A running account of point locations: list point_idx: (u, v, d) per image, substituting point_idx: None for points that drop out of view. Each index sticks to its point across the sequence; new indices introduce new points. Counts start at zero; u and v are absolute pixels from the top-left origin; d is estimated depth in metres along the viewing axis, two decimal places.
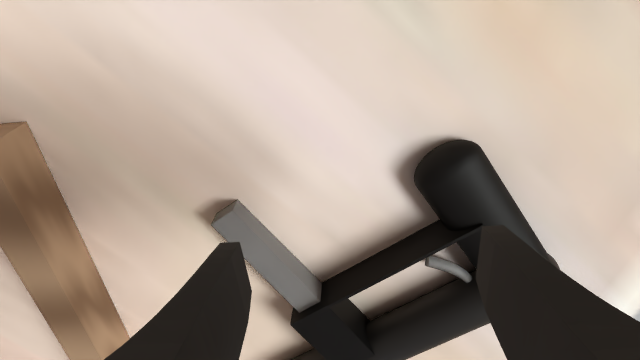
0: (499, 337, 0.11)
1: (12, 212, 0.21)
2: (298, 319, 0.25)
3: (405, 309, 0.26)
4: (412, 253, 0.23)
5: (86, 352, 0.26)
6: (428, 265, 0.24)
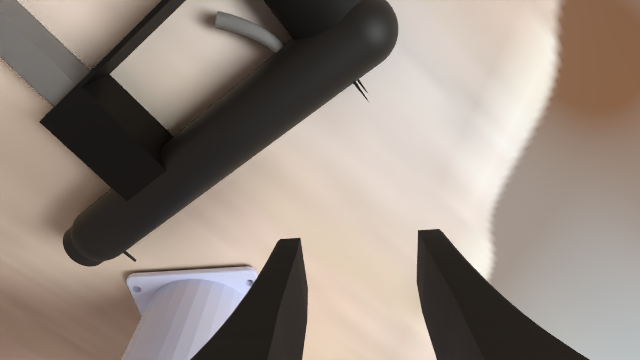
0: (432, 340, 0.12)
1: None
2: (48, 113, 0.18)
3: None
4: None
5: None
6: (217, 23, 0.17)
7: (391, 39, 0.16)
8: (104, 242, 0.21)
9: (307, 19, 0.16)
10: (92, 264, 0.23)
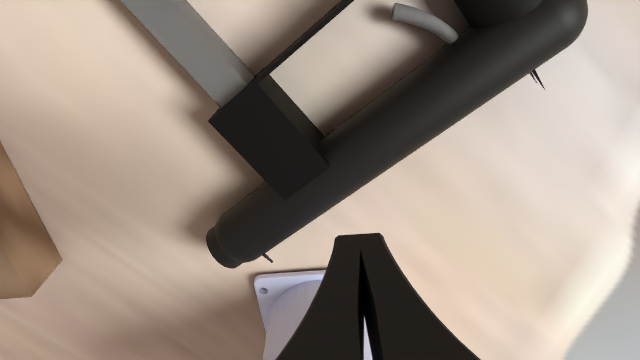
0: (370, 343, 0.12)
1: None
2: (218, 111, 0.18)
3: (370, 103, 0.19)
4: None
5: None
6: (394, 15, 0.17)
7: (584, 24, 0.16)
8: (255, 242, 0.21)
9: (500, 6, 0.16)
10: (234, 266, 0.22)
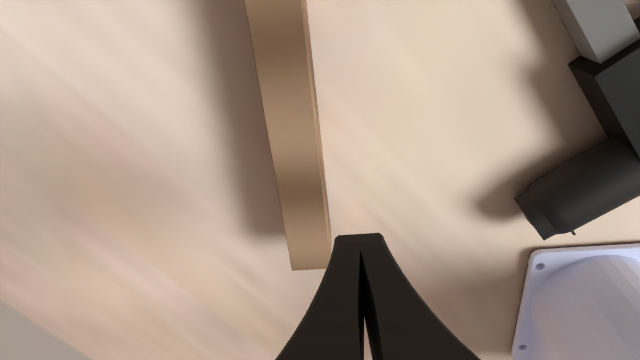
0: (369, 343, 0.12)
1: None
2: (608, 66, 0.17)
3: None
4: None
5: (298, 123, 0.17)
6: None
7: None
8: (592, 211, 0.20)
9: None
10: (547, 238, 0.21)
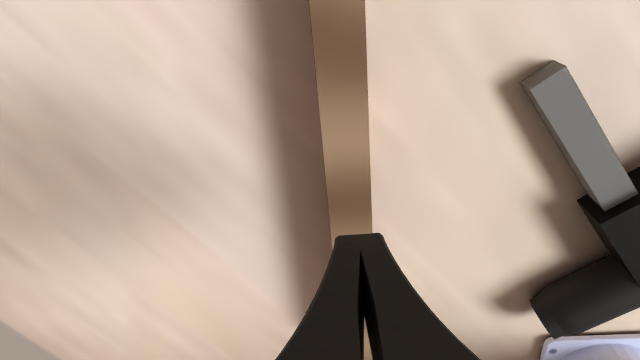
0: (369, 343, 0.12)
1: (355, 42, 0.16)
2: (611, 217, 0.20)
3: None
4: None
5: None
6: None
7: None
8: (596, 321, 0.23)
9: None
10: (558, 337, 0.25)
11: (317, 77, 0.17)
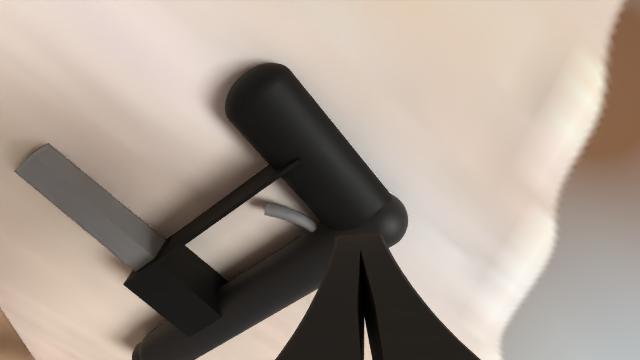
0: (369, 343, 0.12)
1: None
2: (131, 278, 0.23)
3: (255, 266, 0.24)
4: (238, 197, 0.21)
5: None
6: (265, 213, 0.22)
7: (403, 233, 0.21)
8: None
9: (338, 220, 0.21)
10: None
11: None
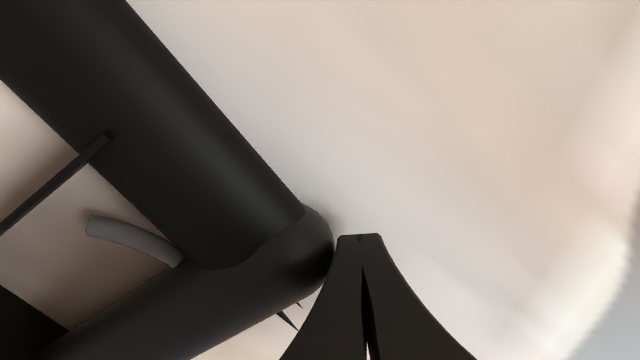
0: (368, 343, 0.12)
1: None
2: None
3: (93, 318, 0.15)
4: None
5: None
6: (88, 234, 0.13)
7: (321, 277, 0.12)
8: None
9: (202, 253, 0.11)
10: None
11: None
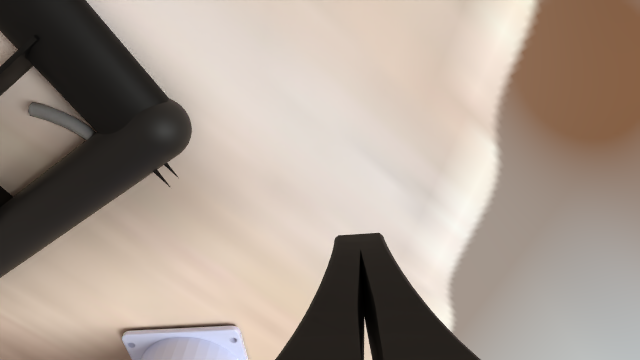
0: (369, 343, 0.12)
1: None
2: None
3: None
4: None
5: None
6: (30, 113, 0.19)
7: (175, 141, 0.19)
8: None
9: (99, 121, 0.18)
10: None
11: None
